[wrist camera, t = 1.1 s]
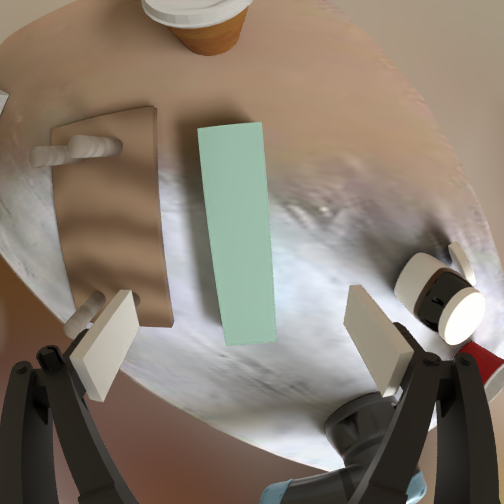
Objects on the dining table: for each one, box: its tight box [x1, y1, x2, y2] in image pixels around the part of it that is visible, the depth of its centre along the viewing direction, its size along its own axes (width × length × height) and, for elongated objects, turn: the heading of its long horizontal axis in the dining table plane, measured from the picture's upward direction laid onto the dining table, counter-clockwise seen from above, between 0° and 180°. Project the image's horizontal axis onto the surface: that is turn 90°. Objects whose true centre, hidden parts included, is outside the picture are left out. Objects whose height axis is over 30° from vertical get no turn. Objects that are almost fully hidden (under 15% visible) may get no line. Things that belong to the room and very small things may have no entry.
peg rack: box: [29, 106, 174, 339], centre depth 25 cm, size 26×14×10 cm, turn 1°
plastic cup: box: [458, 342, 504, 403], centre depth 34 cm, size 11×11×12 cm
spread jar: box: [394, 241, 485, 345], centre depth 28 cm, size 12×11×12 cm
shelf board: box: [197, 122, 277, 346], centre depth 30 cm, size 24×6×4 cm, turn 5°
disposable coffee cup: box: [141, 0, 253, 56], centre depth 18 cm, size 10×10×12 cm
